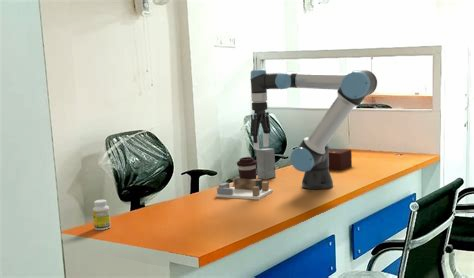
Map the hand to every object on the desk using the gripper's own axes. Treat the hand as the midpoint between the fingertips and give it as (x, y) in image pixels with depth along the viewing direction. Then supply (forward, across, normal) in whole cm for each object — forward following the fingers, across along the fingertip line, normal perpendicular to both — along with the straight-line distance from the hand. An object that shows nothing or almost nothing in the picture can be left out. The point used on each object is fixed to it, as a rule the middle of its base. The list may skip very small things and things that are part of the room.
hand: (261, 148), depth 271 cm
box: (+21, -64, +9) cm, 68 cm away
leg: (+19, +7, -4) cm, 21 cm away
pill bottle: (+21, +83, -26) cm, 89 cm away
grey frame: (+21, -4, -16) cm, 27 cm away
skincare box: (+21, -25, -12) cm, 34 cm away
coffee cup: (+20, +1, -8) cm, 22 cm away
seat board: (+20, +13, -3) cm, 24 cm away
